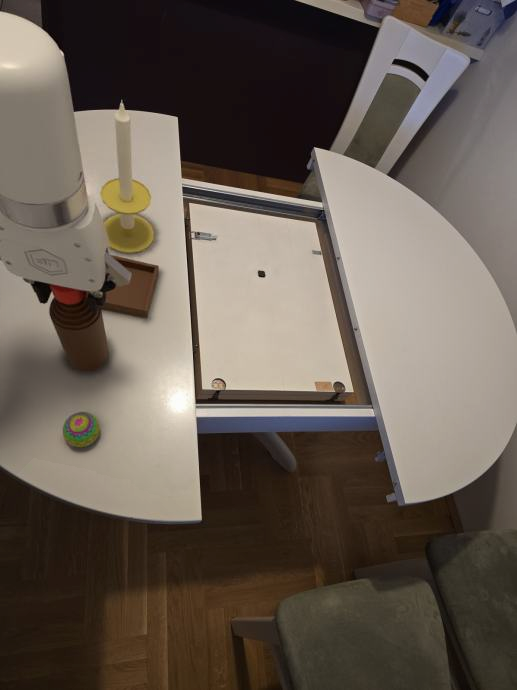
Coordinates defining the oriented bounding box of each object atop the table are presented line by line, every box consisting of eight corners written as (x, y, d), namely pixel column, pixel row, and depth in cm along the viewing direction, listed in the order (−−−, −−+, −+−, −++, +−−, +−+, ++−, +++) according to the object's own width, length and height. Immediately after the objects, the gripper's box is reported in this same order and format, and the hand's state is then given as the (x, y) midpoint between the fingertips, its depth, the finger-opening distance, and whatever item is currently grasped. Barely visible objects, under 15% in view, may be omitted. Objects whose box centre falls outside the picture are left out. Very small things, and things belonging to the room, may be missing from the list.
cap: (47, 300, 47) (42, 287, 45) (58, 275, 49) (54, 261, 47) (81, 307, 48) (78, 295, 46) (91, 282, 50) (88, 269, 47)
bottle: (61, 367, 62) (29, 297, 45) (73, 333, 65) (48, 255, 48) (102, 374, 63) (87, 309, 46) (113, 340, 67) (102, 267, 49)
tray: (69, 302, 68) (67, 294, 66) (87, 257, 72) (85, 248, 70) (146, 317, 70) (146, 311, 68) (158, 273, 75) (158, 265, 73)
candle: (112, 208, 79) (99, 68, 56) (160, 224, 80) (167, 94, 57) (92, 243, 74) (69, 106, 51) (144, 260, 75) (144, 133, 52)
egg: (68, 417, 59) (61, 405, 54) (102, 417, 60) (98, 405, 55) (63, 450, 57) (55, 440, 52) (99, 449, 58) (95, 440, 53)
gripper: (-90, 192, 31) (-12, 309, 47) (129, 243, 34) (133, 337, 50) (-47, 135, 35) (12, 261, 50) (147, 186, 38) (146, 290, 54)
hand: (72, 298), depth 50 cm, fingers open, 5 cm apart
